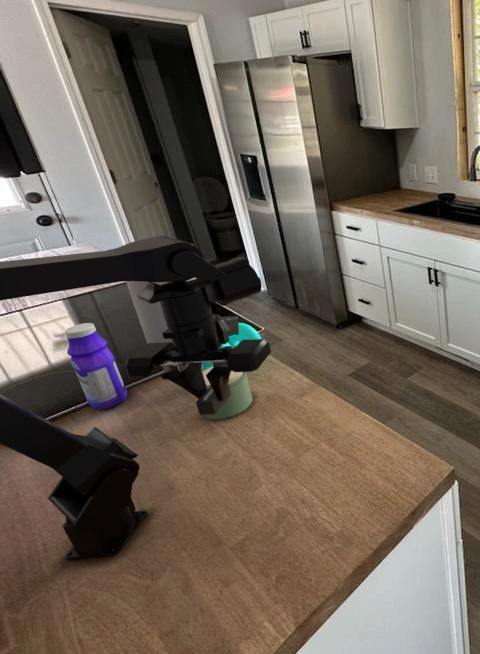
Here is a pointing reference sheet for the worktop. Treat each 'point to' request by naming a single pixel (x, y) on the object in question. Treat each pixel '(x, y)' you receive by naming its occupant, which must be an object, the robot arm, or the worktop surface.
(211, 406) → the clip
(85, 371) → the bottle
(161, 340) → the cylinder vase
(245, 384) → the green lidded jar
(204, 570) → the worktop surface
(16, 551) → the worktop surface
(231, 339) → the cyan spool
